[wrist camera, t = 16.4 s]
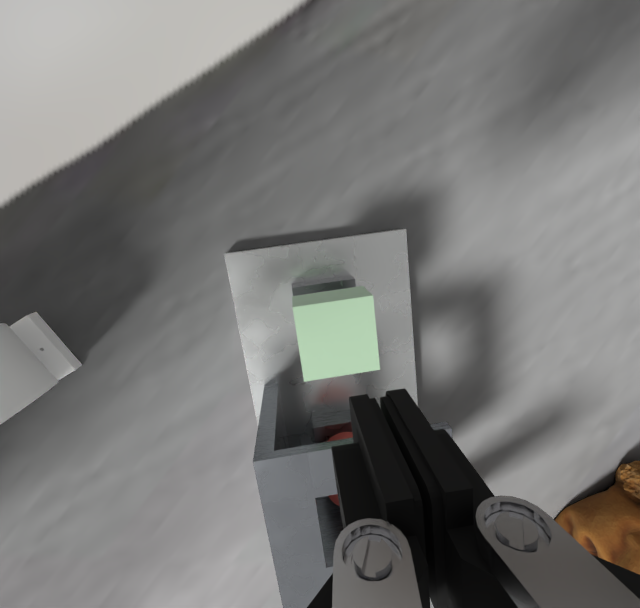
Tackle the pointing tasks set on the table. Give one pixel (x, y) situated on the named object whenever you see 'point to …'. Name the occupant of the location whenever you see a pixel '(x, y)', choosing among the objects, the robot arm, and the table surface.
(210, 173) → the table surface
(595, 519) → the brown rounded furry figure
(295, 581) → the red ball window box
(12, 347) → the headphone stand
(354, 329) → the on button
